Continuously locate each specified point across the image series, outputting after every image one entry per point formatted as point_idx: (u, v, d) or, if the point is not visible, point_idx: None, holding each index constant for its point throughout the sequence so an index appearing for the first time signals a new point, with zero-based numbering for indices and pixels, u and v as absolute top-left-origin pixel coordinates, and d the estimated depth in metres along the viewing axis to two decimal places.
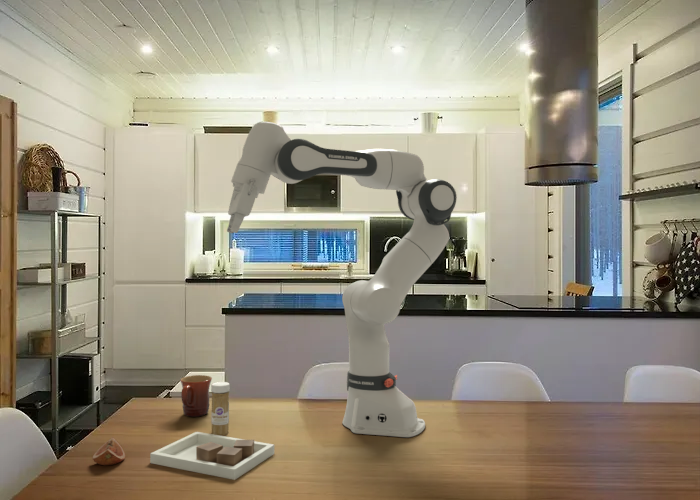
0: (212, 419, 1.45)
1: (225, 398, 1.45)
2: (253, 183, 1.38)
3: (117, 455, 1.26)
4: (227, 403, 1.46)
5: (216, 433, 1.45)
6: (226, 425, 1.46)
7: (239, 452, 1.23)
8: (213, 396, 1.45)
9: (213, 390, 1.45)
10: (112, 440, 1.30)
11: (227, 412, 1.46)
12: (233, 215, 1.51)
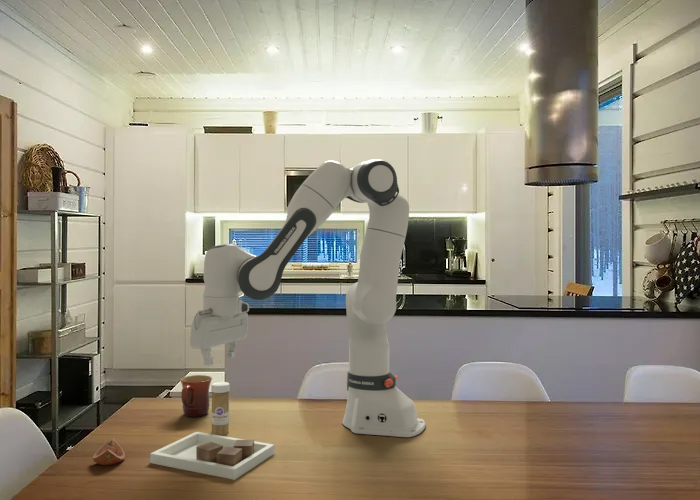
0: (212, 419, 1.45)
1: (225, 398, 1.45)
2: (195, 317, 1.37)
3: (117, 455, 1.26)
4: (227, 403, 1.46)
5: (216, 433, 1.45)
6: (226, 425, 1.46)
7: (239, 452, 1.23)
8: (213, 396, 1.45)
9: (213, 390, 1.45)
10: (112, 440, 1.30)
11: (227, 412, 1.46)
12: None
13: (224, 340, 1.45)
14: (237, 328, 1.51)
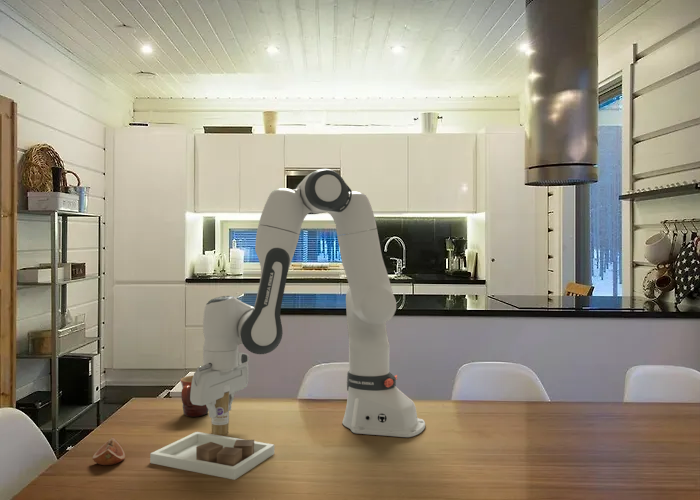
0: (212, 419, 1.45)
1: (225, 398, 1.45)
2: (195, 374, 1.37)
3: (117, 455, 1.26)
4: (227, 403, 1.46)
5: (216, 433, 1.45)
6: (226, 425, 1.46)
7: (239, 452, 1.23)
8: None
9: None
10: (112, 440, 1.30)
11: (227, 412, 1.46)
12: None
13: None
14: (237, 379, 1.51)
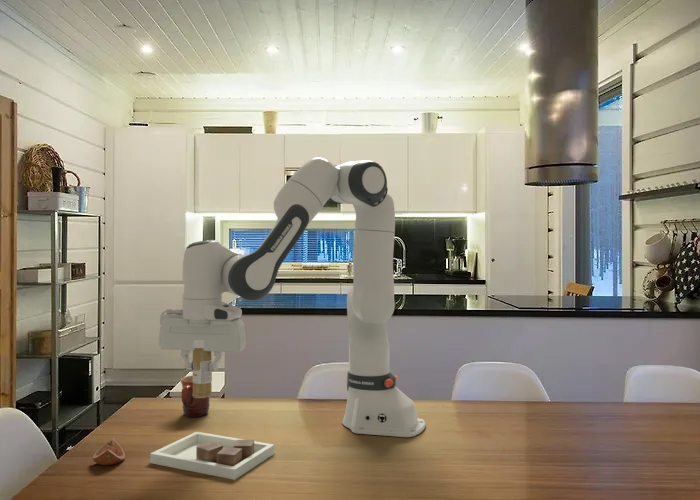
0: None
1: (195, 355, 1.31)
2: None
3: (117, 455, 1.26)
4: (198, 361, 1.31)
5: None
6: (197, 385, 1.31)
7: (239, 452, 1.23)
8: None
9: None
10: (112, 440, 1.30)
11: (198, 371, 1.31)
12: None
13: None
14: (220, 337, 1.31)
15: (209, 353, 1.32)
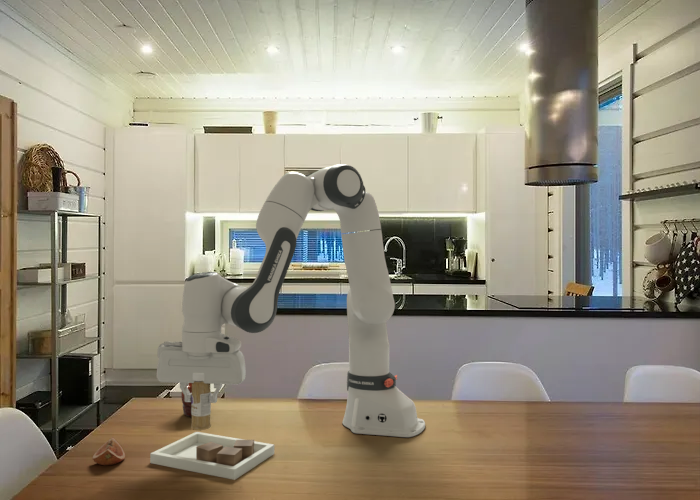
0: None
1: (195, 387, 1.31)
2: (158, 347, 1.34)
3: (117, 455, 1.26)
4: (198, 394, 1.31)
5: None
6: (197, 418, 1.31)
7: (239, 452, 1.23)
8: None
9: None
10: (112, 440, 1.30)
11: (198, 404, 1.31)
12: None
13: None
14: (220, 370, 1.31)
15: (209, 385, 1.33)
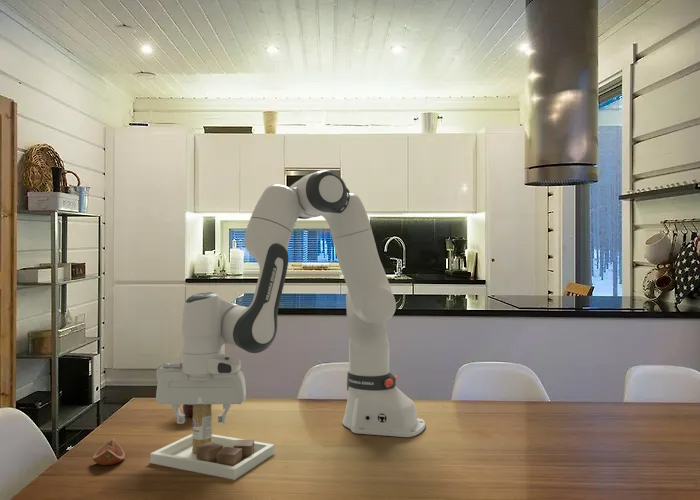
0: None
1: (197, 410, 1.32)
2: (157, 369, 1.33)
3: (117, 455, 1.26)
4: (200, 417, 1.32)
5: None
6: (199, 441, 1.32)
7: (239, 452, 1.23)
8: None
9: None
10: (112, 440, 1.30)
11: (200, 427, 1.32)
12: None
13: (195, 400, 1.31)
14: (222, 390, 1.32)
15: (210, 408, 1.33)
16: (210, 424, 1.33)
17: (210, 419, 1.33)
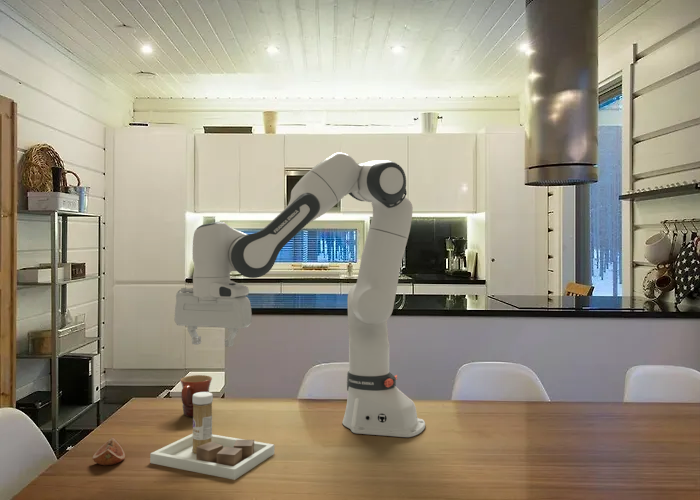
0: None
1: (197, 411, 1.32)
2: None
3: (117, 455, 1.26)
4: (201, 417, 1.32)
5: None
6: (199, 441, 1.32)
7: (239, 452, 1.23)
8: None
9: None
10: (112, 440, 1.30)
11: (200, 427, 1.32)
12: None
13: (204, 322, 1.39)
14: (226, 314, 1.37)
15: (210, 408, 1.33)
16: (210, 424, 1.33)
17: (210, 419, 1.33)
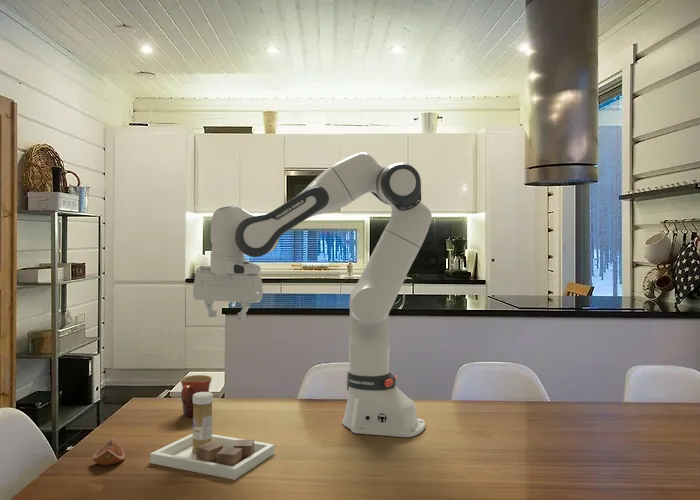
0: None
1: (197, 411, 1.32)
2: None
3: (117, 455, 1.25)
4: (201, 417, 1.32)
5: None
6: (199, 441, 1.32)
7: (239, 452, 1.23)
8: None
9: None
10: (112, 440, 1.30)
11: (200, 427, 1.32)
12: None
13: (219, 297, 1.53)
14: (239, 290, 1.50)
15: (211, 408, 1.33)
16: (210, 424, 1.33)
17: (210, 419, 1.33)
